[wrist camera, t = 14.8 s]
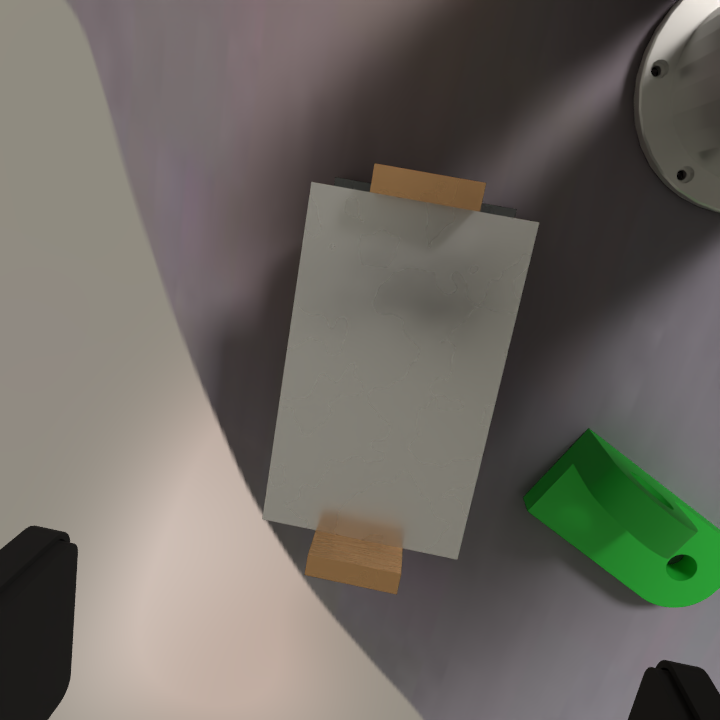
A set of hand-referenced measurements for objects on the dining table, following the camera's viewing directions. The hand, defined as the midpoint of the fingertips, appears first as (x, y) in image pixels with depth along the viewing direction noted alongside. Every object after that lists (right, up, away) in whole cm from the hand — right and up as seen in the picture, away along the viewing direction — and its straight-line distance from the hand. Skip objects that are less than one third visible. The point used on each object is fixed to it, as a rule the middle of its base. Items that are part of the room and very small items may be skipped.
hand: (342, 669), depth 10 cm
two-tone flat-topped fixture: (+3, +7, +27) cm, 28 cm away
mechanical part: (+17, -5, +29) cm, 34 cm away
